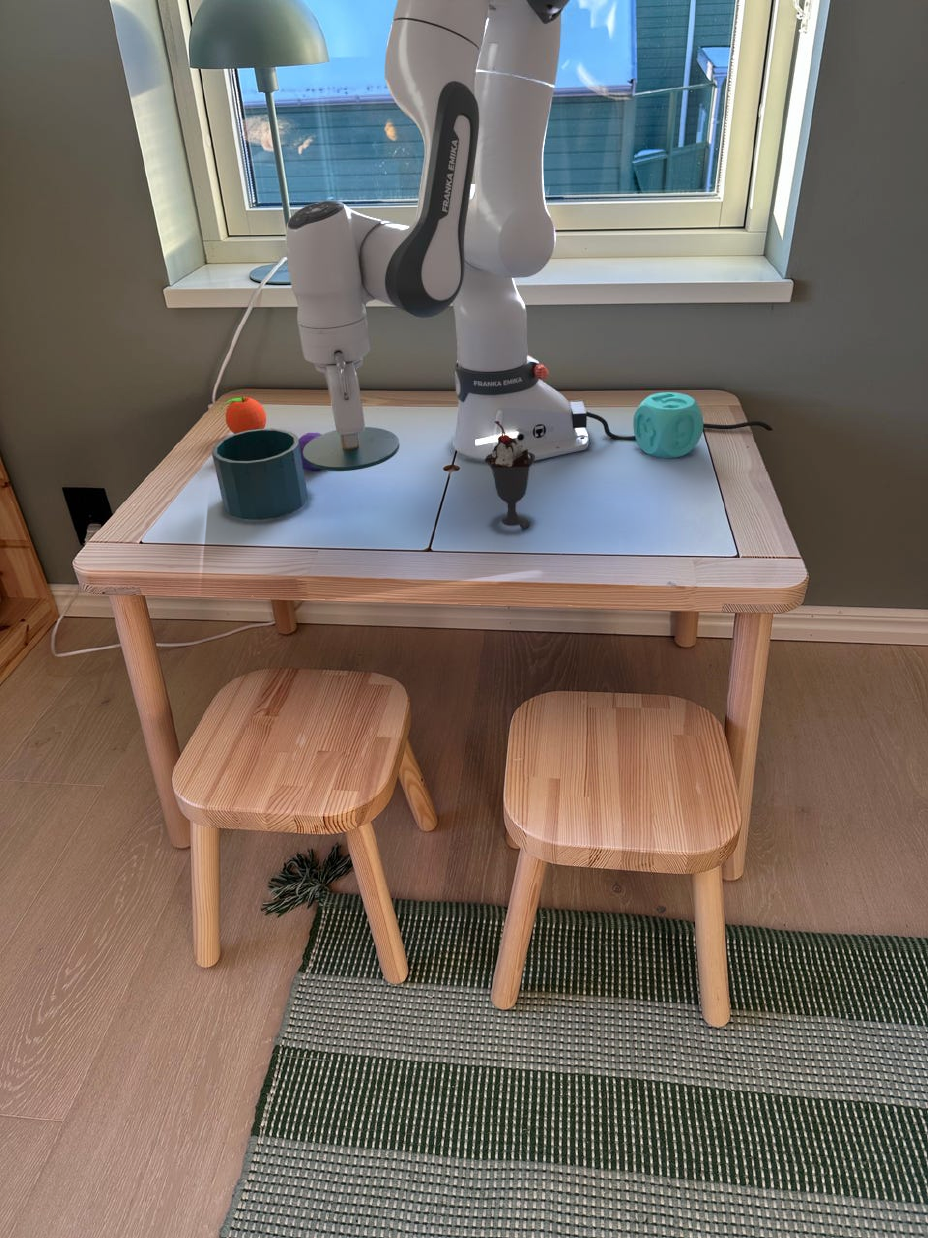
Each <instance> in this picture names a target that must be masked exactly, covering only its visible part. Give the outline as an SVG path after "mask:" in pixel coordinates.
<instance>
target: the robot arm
mask: <svg viewBox="0 0 928 1238" xmlns="http://www.w3.org/2000/svg"><path fill="white" fill-rule="evenodd" d="M569 2H570V0H397V2H396V5H395V10H394V13H393V17H392V22H391V26H390V30H389V34H388V39H387V44H386V48H385V55H384V57H385V58H384V81H385V84H386V86H387V89H388V91H389V93H390V95H391V97H392V99H393V101H394V102H395V103H396V105H397V106H398V108H399V109H400V110H401V111H402V112H403V113H404V114H405V115H406V116H407V117H408V118H410V120H411V121H413V122H414V123H415V125H416V126H417V128H418V129H419V132H420V134H421V136H422V139H423V145H424V157H423V164H422V171H421V178H420V185H419V192H418V198H417V199H418V200H417V206H416V213H415V217H414V220H413V221H412V222H411V224H410V225H405V224H401V223H398V222H394V221H390V220H384V219H379V218H375V217H371V216H368V215H365V214H363V213H359V212H358V211H355V210H353V209H351V208H349V207H348V206H347V205H346V204H345V203H344V202H341V201H338V200H323V201H321V202H314V203H311V204H308V205H306V206H303V207H301V208H300V209H298V210H296V211H295V212H294V213H292V215H291V217H289V218H288V221H287V223H286V229H285V249H286V250H285V251H286V261H287V268H288V275H289V282H290V286H291V287H290V288H291V290H292V293H293V294H294V296H295V299H296V303H297V313H296V321H297V329H298V334H299V338H300V345H301V350H302V356H303V359H304V360H305V361H306V362H309V363H310V364H314V369H315V370H316V371H317V372H318V373H321V374H323V375H324V378H325V382H326V386H327V391H328V395H329V400H330V406H331V410H332V415H333V421H334V425H335V430H337V433H338V434H339V435H343V436H344V442H345V446H346V447H347V448H351V447H356V446H357V445H358V438H357V433H361V432H363V431H364V430H365V427H366V423H365V415H364V409H363V403H362V396H361V388H360V382H359V378H358V374H357V371H356V370H358V369H360V368H361V367H362V365H364V360H363V358H364V357H366V356H367V355H368V354H370V352H371V348H372V347H371V341H370V333H369V325H368V317H367V310H366V306H367V304H368V303H369V302H372V301H375V300H376V301H378V302H381V303H384V304H387V305H390V306H393V307H396V308H398V309H399V310H402V311H404V312H406V313H407V314H410V315H412V316H413V317H416V318H422V319H427V318H428V319H429V318H432V317H433V318H434V317H435V316H437V315H440V314H441V313H443V312H445V311H446V310H447V309H448V308H450V306H451V305H452V309H453V313H454V314H453V315H454V324H455V337H456V338H455V339H456V353H457V355H456V356H457V360H456V361H455V363H454V364H455V366H454V367H455V368H454V369H455V371H454V382H455V383H454V384H455V393H456V396H457V399H458V400H457V401H458V403H457V417H456V426H455V432H454V436H453V440H452V447H453V449H454V450H455V451H457V452H458V453H459V454H461V455H464V456H466V457H469V458H473V459H479V460H484V461H485V459H486V456H488V455H489V454H492V451H493V449H494V446H496V445H497V444H498V437H499V436H501V435H502V429H501V427H500V426H498V425H497V424H496V423H495V421H499V424H500V425H501V426H502V427H503V429H504V431H505V434H506V435H508V436H509V437H510V438H513V439H516V440H517V441H518V442H520V443H521V445H522V448H523V449H524V450H526V449H527V450H528V452H530V453H533V454H534V455H535V460H534V462H535V461H540V460H545V459H549V458H553V457H558V456H563V455H566V454H567V455H568V454H572V453H575V452H580V451H585V450H587V448H588V447H589V444H590V439H589V433H588V431H587V429H586V428H587V423H588V422H587V421H588V418H591V419H594V420H596V421H598V422H600V423H601V424H602V426H603V429H604V432H605V434H606V436H607V437H609V438H610V439H612V440H616V441H617V440H620V441H637V440H636V438H635V435H630V436H621V435H617V434H614V433H613V432H611V430H610V426H609V424H608V421H607V420H606V419H605V418H604V417H603V416H600V415H598V414H596V413H592V412H589V411H587V410H586V407H585V404H584V401H582V400H581V401H580V400H579V401H569V400H568V399H567V398H566V397H565V396H564V395H563V394H562V393H561V392H560V391H558V390H556V389H555V388H553V387H552V386H550V385H549V384H548V383H546V382H544V381H543V380H546V379H547V377H549V373H550V372H549V369H548V368H547V367H546V366H545V364H542V363H540V362H539V361H538V359H536V358H533V357H532V356H531V354H528V312H527V307H526V305H525V302H524V301H523V298H522V297H521V295H520V293H519V291H518V289H517V286H516V283H515V280H514V279H520V278H530V277H532V276H534V275H536V274H538V273H540V272H541V271H542V270H543V269H544V268H545V267H546V265H547V264H548V263H549V262H550V260H551V258H552V256H553V253H554V251H555V246H556V229H555V225H554V221H553V219H552V217H551V215H550V212H549V211H548V208H547V203H546V198H545V196H546V195H545V185H544V184H545V183H544V149H545V148H544V147H545V140H546V135H547V129H548V123H549V118H550V112H551V106H552V101H553V97H554V91H555V86H556V79H557V73H558V66H559V61H560V59H559V58H560V51H561V50H560V49H561V37H562V36H561V34H562V12H563V10H564V8H565V7H566V6H567V5H568V3H569ZM473 177H474V178H473ZM473 179H474V184H472V183H473ZM753 426H758V427H761V428H763V429H765V430H766V431H767V432H769V431H774V429H773V428H772V426H771V425H769V424H768V423H766V422H764V421H760V420H750V421H745V422H740V423H735V424H734V423H733V424H715V423H704V422H703V429H713V430H736V429H741V428H746V427H753ZM503 436H504V432H503Z"/></svg>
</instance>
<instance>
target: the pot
mask: <svg viewBox="0 0 928 1238" xmlns="http://www.w3.org/2000/svg"><path fill="white" fill-rule="evenodd" d="M211 451H212V452H211V456H212V459H213V464H214V469H215V474H216V478H217V482H218V486H219V493H220V496H221V501H222V505H223V510H224V511H225V512H226V513H227V514H228V515H229V516H231V517H233V518H237V519H241V520H248V521H249V520H251V521H261V520H262V521H263V520H269V519H275V518H279V517H283V516H286V515H288V514H291V513H294V511H296V510H298V509H299V508H301V507H303V506H304V504H305V503H306V502H307V500H308V489H307V484H306V478H305V471H304V467H303V465H302V459H301V452H300V446H299V436H297V435H296V434H295V433H293V432H292V431H289V430H284V429H281V428H264V429H256V430H248V431H244V432H240V433H236V434H234V433H232V434H230V435H228V436H226V437H224V438H222V439H219V440H218V441H217V442H216V444H214V445H213V446H212V449H211Z"/></svg>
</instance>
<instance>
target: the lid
mask: <svg viewBox="0 0 928 1238" xmlns="http://www.w3.org/2000/svg"><path fill="white" fill-rule="evenodd" d="M357 438H358V445H357V446H356V447H351V448H347V447H346V446H345V442H344V436H343V435H339V434H338V433H337V430H336V429H335V430H331V431H329V432H325V433H322V435H320V436H318V437H316V438H314V439H313V440H311V441H310V442H309V443H308V444H307V445H306V446H305V447H304V449H303V457H304V460H305V461H306V462H307V463H308V464H309V465H311V466H313V467H315V468H318V470H322V471H328V472H329V471H330V472H351V471H359V470H364V469H369V468H371V467H375V466H378V465H381V464H383V463H385V462H387V461H388V460H390V459H391V458H393V457H394V456H395V455H396V454H397V453H398V452H399V449H400V439H399V437H398V436H397V435H396V434H395V433H393V432H391V431H389V430H387V429H383V428H379V427H371V426H365V430H364V431H363V432H361V433H357Z"/></svg>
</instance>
